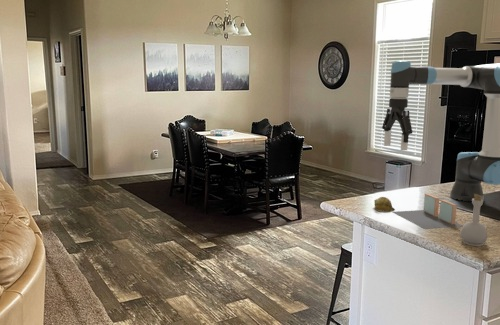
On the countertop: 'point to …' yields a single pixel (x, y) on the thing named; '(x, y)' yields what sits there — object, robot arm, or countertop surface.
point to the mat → (425, 219)
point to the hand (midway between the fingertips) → (395, 147)
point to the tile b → (447, 211)
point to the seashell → (383, 204)
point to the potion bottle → (474, 226)
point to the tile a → (431, 204)
